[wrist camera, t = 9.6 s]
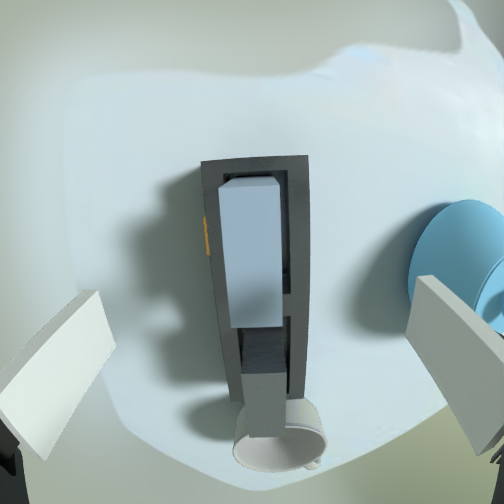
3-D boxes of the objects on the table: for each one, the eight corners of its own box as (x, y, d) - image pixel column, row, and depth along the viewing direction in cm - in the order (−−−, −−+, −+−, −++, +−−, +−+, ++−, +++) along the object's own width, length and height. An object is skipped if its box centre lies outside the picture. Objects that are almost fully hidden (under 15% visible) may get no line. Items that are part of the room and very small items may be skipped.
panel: (235, 176, 23) (218, 188, 14) (271, 174, 23) (279, 185, 14) (241, 265, 26) (231, 327, 16) (275, 264, 26) (282, 326, 16)
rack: (208, 161, 24) (168, 164, 13) (298, 155, 23) (327, 154, 13) (231, 370, 31) (220, 446, 21) (299, 368, 31) (309, 444, 20)
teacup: (221, 395, 33) (213, 445, 25) (299, 366, 31) (306, 419, 23) (271, 444, 36) (272, 485, 29) (337, 422, 34) (346, 465, 27)
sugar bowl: (503, 210, 24) (569, 236, 13) (471, 318, 29) (518, 367, 18) (417, 183, 24) (496, 205, 13) (384, 318, 28) (428, 388, 18)
